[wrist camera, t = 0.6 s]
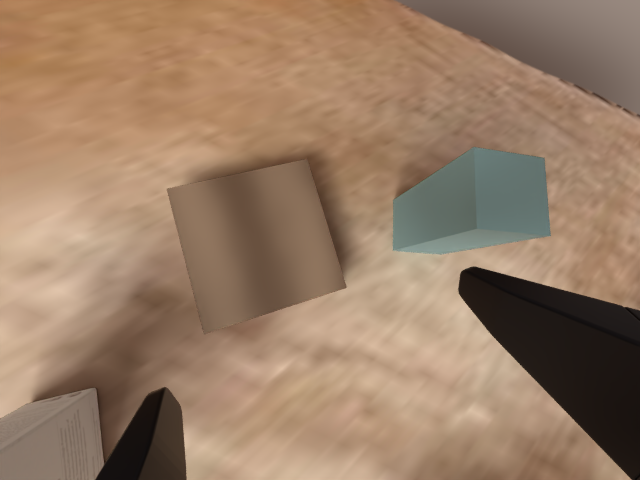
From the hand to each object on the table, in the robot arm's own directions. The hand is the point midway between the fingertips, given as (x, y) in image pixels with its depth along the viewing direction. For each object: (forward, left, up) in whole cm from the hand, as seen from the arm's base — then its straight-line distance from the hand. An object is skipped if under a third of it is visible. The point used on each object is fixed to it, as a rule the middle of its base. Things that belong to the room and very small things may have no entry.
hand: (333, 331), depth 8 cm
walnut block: (+4, -3, -15) cm, 16 cm away
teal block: (-7, -11, -14) cm, 19 cm away
